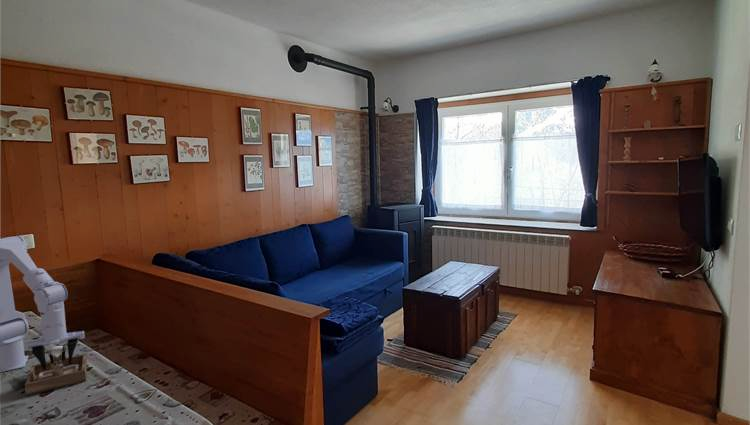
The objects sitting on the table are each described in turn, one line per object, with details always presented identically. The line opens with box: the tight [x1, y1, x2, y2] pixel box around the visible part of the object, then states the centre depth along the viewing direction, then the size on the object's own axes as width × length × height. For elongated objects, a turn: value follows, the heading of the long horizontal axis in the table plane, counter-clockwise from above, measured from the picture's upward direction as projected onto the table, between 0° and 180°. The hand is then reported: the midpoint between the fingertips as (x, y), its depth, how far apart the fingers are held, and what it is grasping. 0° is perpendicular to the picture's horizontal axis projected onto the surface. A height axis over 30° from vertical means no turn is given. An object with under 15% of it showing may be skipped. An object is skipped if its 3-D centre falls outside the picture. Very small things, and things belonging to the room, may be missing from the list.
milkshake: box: [47, 344, 67, 377], centre depth 123 cm, size 4×5×10 cm
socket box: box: [24, 353, 88, 397], centre depth 122 cm, size 14×14×4 cm
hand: (57, 365), depth 122 cm, fingers open, 6 cm apart
